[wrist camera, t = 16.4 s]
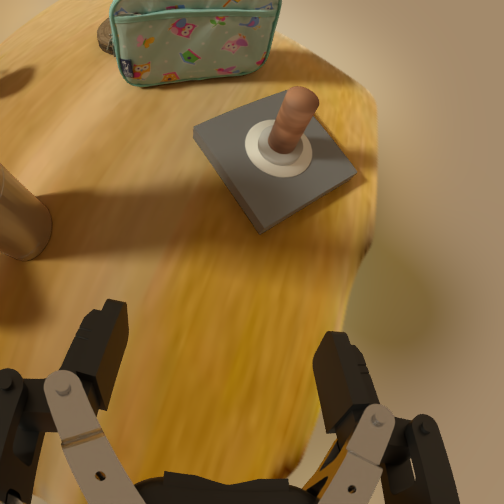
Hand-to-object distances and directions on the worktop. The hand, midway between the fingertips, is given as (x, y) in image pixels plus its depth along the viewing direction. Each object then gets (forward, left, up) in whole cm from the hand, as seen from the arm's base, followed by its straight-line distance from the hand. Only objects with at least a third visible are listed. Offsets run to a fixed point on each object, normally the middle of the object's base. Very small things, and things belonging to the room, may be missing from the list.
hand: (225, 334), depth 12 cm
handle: (-15, +22, -24) cm, 36 cm away
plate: (-15, +22, -28) cm, 38 cm away
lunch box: (-39, +20, -28) cm, 52 cm away
